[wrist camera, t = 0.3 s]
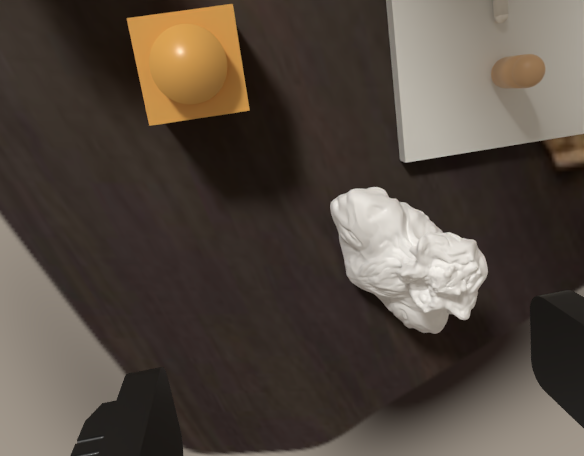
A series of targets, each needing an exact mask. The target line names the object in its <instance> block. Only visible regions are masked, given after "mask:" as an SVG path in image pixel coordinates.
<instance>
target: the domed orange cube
mask: <svg viewBox="0 0 584 456" xmlns="http://www.w3.org/2000/svg"><path fill="white" fill-rule="evenodd" d="M127 23H128V28H129V32H130V37H131V42H132V46H133V51H134V56H135V60H136V65H137V70H138V75H139V79H140V84H141V89H142V93H143V98H144V103H145V108H146V112H147V117H148V122H149V126H151V125H158V124H165V123H171V122H178V121H184V120H191V119H198V118H204V117H211V116H217V115H224V114H231V113H237V112H244V111H250V109H249V103H248V97H247V90H246V84H245V78H244V72H243V66H242V59H241V53H240V47H239V41H238V34H237V28H236V22H235V16H234V9H233V4H228V5H221V6H213V7H206V8H198V9H191V10H184V11H176V12H169V13H161V14H154V15H147V16H139V17H132V18H127Z"/></svg>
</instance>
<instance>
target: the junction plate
mask: <svg viewBox="0 0 584 456" xmlns="http://www.w3.org/2000/svg"><path fill="white" fill-rule="evenodd" d="M386 6H387V17H388V29H389V40H390V51H391V63H392V74H393V86H394V97H395V108H396V120H397V131H398V142H399V154H400V161H402V162H405V163H407V162H413V161H419V160H425V159H431V158H438V157H444V156H450V155H456V154H462V153H468V152H474V151H481V150H487V149H493V148H499V147H505V146H511V145H517V144H524V143H530V142H536V141H542V140H548V139H554V138H561V137H567V136H573V135H579V134H584V0H386Z"/></svg>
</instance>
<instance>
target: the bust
mask: <svg viewBox="0 0 584 456" xmlns="http://www.w3.org/2000/svg"><path fill="white" fill-rule="evenodd" d="M330 209H331V215H332V218H333V221H334V223H335V225H336V227H337V229H338V233H339V241H340V245H341V248H342V253H343V256H344V261H345V267H346V275H347V277H348V278H349V279H350V281H351V282H352V283H353V284H355V285H356V286H358V287H359V288H361V289H363V290H365V291H367V292H370V293H373V294H374V295H376V296H377V297H378V298H379V299H380V300H381V301H382V302H383V304H384V305H385V306H386V307H387V309H388V310H389V311H391V312H393V314H394V315H395V316H396V317H397V318H398V319H399V320H401V321H402V322H403V323H404V325H405V326H406V327H408V328H415V329H417V330H419V331H420V332H422V333H428V332H430V333H433V334H436V333H439V332H440V331H441V330H442V329H443V328H444V326H445V325H446V323H447V320H448V316H449V314H453V315H455V316H456V317H458V318H459V319H461V320H467V319H469V317H470V312H471V309H473V308H474V306H475V303H476V299H477V295H478V291H477V290H478V289H479V287H480V286H481V284H482V283H483V282H484V280H485V279H486V277H487V273H488V268H487V263H486V259H485V257H484V255H483V254H482V253H481V251H480V250H479V249H478V247H477V243H476V241H475V240H473V239H465V238H461V237H460V236H458V235H455V234H453V233H450V232H447V233H443V232H442V230H441V229H439V228H438V227H437V226H436V225H435V224H434V223H433V222H432V221H430V220H429V217H428V216H426V215H425V214H424V213H423V212H422V211H420V210H417V209H414V208H412V207H411V206H410V205H408V204H407V203H405V202H399V201H398V200H397V199H396V198H395V199H392V198H389V196H388V194H387V193H386V191H385V190H383V189H382V188H379V187H370V188H367V189H352V190H350V191H349V192H348V193H346V194H342V195H339V196H338V197H337V198H335V199H334V200H333V201H332V202H331V204H330Z"/></svg>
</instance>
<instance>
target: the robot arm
mask: <svg viewBox="0 0 584 456" xmlns="http://www.w3.org/2000/svg"><path fill="white" fill-rule="evenodd" d="M530 325H531V362H532V368H533V371H534V374H535V377H536V379H537V381H538V383H539V384H540V386H541V387H542V389H543V390H544V391H545V392H546V393H547V394H548V395H549V396H551V397H552V398H553V399H554V400H555V401H556V402H557V403H558V404H559V405H560V406H561V407H562V408H563V409H564V410H565V411H566V412H567V413H568V414H569V415H570V416H572V418H573V419H575V420H576V421H577V422H578V423H579V424H580V425H581V426H582V427H583V428H584V297H582V296H581V295H579V294H577V293H575V292H574V291H571V290H566V291H561V292H556V293H551V294H546V295H540V296H536V297H534V298H533V299H532V301H531V305H530ZM71 456H183V444H182V436H181V431H180V426H179V422H178V418H177V414H176V410H175V406H174V402H173V397H172V393H171V389H170V385H169V381H168V377H167V374H166V371H165V369H164V368H163V367H160V368H155V369H150V370H144V371H139V372H134V373H129V374H126V376H125V378H124V381H123V383H122V386H121V389H120V392H119V395H118V398H117V400H116V401H112V402H107V403H102V404H101V405H100V406H99V407H98V409H96V411H95V412H94V413H93V414H92V415H91V416H90V417H89V418H88V419H87V420H86V421H85V423H84V425H83V428H82V430H81V432H80V435H79V437H78V439H77V444H75V446H74V449H73V451H72V453H71Z"/></svg>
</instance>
